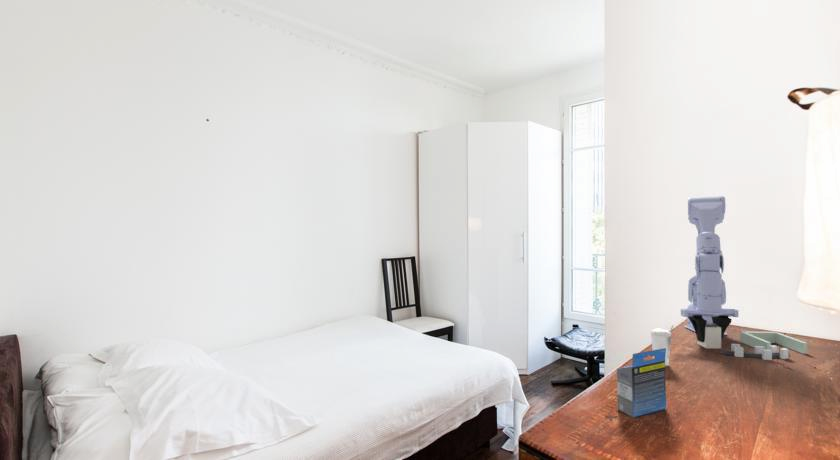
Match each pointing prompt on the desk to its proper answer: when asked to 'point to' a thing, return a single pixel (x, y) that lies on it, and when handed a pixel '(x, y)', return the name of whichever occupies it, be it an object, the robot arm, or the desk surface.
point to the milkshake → (661, 341)
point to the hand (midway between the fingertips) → (709, 341)
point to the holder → (772, 340)
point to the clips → (760, 351)
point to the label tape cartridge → (642, 384)
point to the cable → (750, 354)
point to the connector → (712, 336)
